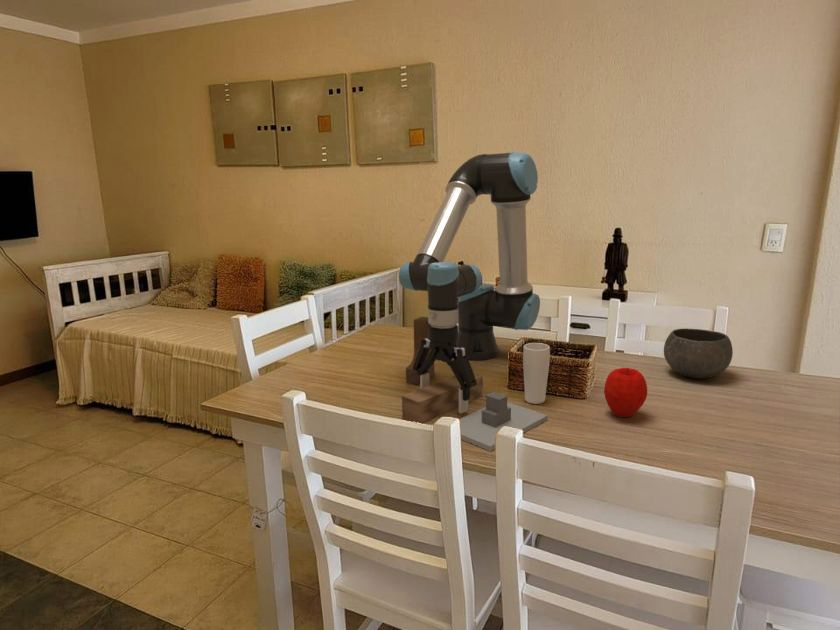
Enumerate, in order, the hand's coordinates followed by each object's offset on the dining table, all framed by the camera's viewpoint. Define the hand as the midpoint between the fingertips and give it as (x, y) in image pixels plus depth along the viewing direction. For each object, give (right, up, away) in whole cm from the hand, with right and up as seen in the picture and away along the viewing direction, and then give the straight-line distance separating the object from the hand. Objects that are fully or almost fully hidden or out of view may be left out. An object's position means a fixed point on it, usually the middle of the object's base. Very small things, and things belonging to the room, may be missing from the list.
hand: (443, 404), depth 141 cm
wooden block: (-6, +4, +20) cm, 22 cm away
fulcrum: (+12, -3, -12) cm, 17 cm away
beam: (0, -1, 0) cm, 1 cm away
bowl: (+75, +5, +19) cm, 77 cm away
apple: (+44, -2, -7) cm, 44 cm away
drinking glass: (+24, 0, +3) cm, 24 cm away
